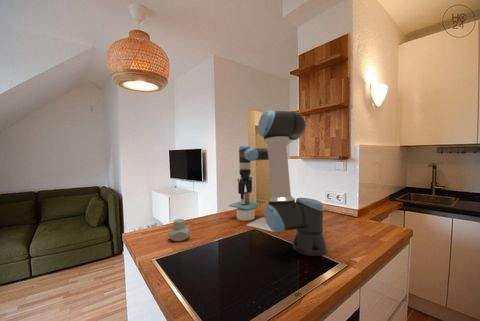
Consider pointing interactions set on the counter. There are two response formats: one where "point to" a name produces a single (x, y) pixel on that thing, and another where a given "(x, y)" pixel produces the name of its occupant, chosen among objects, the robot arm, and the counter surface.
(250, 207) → the lid
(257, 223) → the mat
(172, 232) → the air freshener
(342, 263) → the counter surface
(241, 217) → the bowl
